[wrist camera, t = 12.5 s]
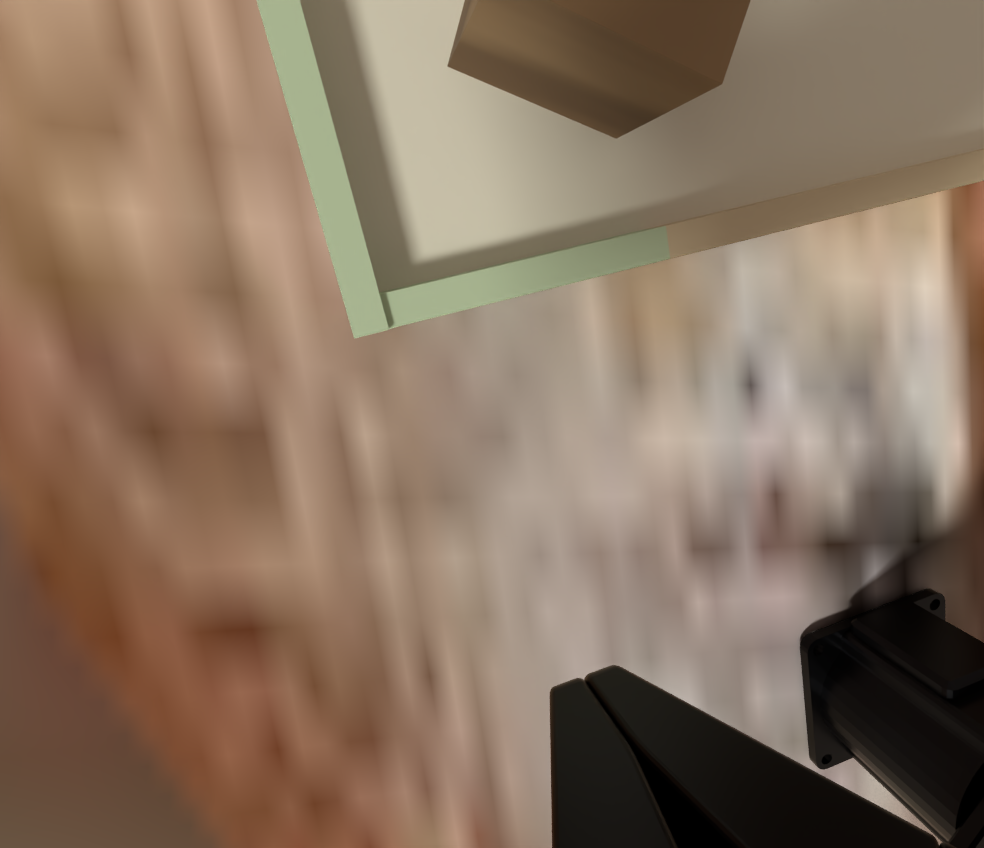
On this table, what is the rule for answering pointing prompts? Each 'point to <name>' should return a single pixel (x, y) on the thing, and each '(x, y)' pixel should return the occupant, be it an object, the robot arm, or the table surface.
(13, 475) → the table surface
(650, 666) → the table surface
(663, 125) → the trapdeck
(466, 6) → the block
